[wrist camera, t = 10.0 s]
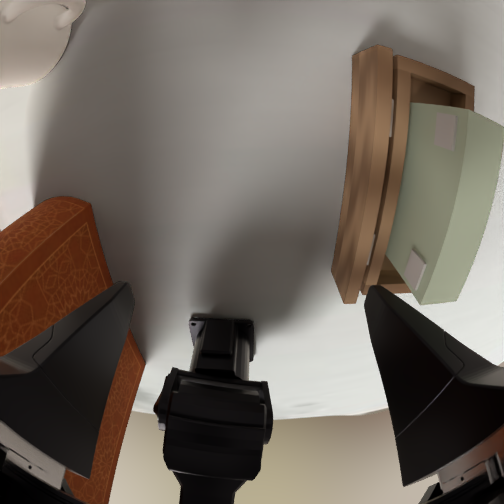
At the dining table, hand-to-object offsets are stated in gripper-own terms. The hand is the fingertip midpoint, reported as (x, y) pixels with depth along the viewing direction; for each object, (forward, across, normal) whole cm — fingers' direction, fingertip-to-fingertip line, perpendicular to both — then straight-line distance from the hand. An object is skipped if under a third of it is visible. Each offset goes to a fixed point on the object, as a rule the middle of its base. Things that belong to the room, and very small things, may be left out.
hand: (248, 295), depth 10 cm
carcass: (+12, -12, -2) cm, 17 cm away
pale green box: (+10, -12, -2) cm, 16 cm away
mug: (+12, +17, -16) cm, 26 cm away
